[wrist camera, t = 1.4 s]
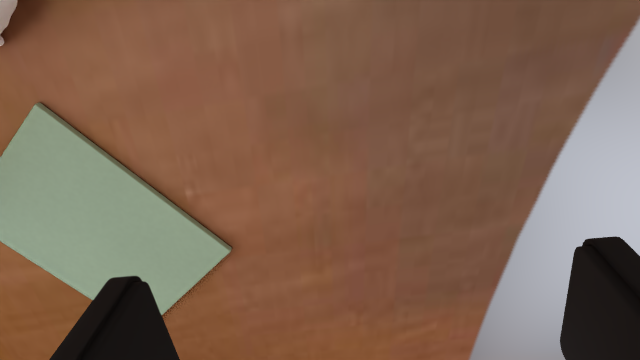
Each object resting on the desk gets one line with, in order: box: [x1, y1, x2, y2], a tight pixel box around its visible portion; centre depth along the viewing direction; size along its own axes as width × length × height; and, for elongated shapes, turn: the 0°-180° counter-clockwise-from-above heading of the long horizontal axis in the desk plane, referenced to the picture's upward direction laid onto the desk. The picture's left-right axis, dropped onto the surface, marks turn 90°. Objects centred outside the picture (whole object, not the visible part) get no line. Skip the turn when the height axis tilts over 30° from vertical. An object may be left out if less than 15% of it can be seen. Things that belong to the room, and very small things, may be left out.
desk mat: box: [0, 102, 232, 315], centre depth 40 cm, size 20×15×1 cm
